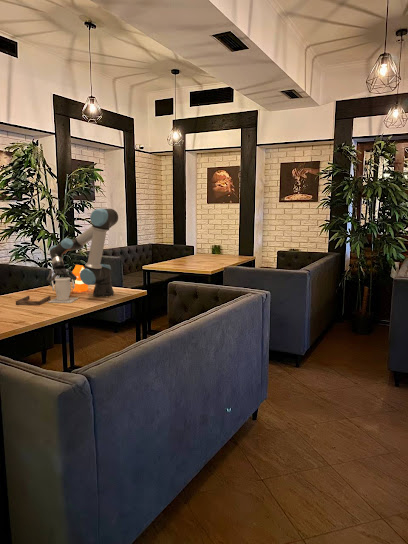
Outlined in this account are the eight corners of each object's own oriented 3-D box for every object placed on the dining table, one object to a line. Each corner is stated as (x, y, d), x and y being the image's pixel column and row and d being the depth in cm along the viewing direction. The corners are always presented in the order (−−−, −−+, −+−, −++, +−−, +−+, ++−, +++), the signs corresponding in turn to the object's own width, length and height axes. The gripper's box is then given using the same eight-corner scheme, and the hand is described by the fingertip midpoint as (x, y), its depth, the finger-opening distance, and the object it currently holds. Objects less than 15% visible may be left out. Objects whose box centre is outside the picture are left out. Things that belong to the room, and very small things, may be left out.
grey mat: (79, 298, 286) (79, 297, 286) (70, 303, 270) (70, 302, 270) (57, 297, 287) (57, 297, 287) (47, 302, 271) (47, 302, 271)
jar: (66, 301, 272) (65, 279, 270) (52, 300, 274) (51, 279, 272) (74, 298, 283) (73, 277, 280) (61, 297, 285) (60, 276, 283)
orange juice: (81, 289, 320) (80, 264, 317) (88, 290, 315) (87, 265, 312) (72, 290, 314) (71, 265, 311) (79, 291, 309) (78, 266, 306)
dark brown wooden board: (50, 299, 281) (50, 296, 280) (39, 305, 264) (39, 301, 263) (28, 299, 281) (28, 295, 281) (15, 304, 265) (15, 301, 264)
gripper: (75, 266, 295) (81, 290, 285) (39, 268, 282) (44, 293, 272) (76, 260, 290) (83, 283, 279) (40, 262, 277) (45, 287, 266)
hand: (64, 288), depth 275 cm, fingers open, 13 cm apart
